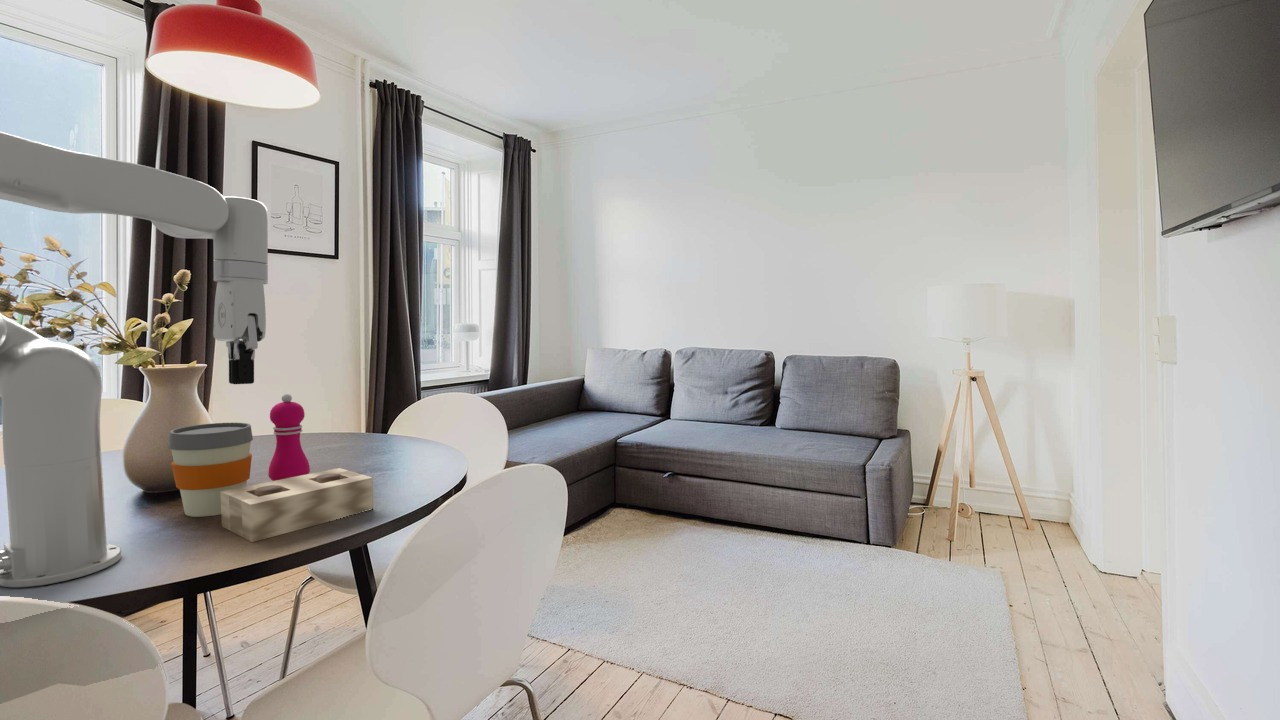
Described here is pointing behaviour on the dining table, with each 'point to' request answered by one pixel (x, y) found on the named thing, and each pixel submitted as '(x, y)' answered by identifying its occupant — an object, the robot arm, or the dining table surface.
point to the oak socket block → (295, 504)
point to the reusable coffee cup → (210, 463)
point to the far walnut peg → (328, 477)
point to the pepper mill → (287, 441)
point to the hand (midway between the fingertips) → (241, 383)
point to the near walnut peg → (268, 490)
